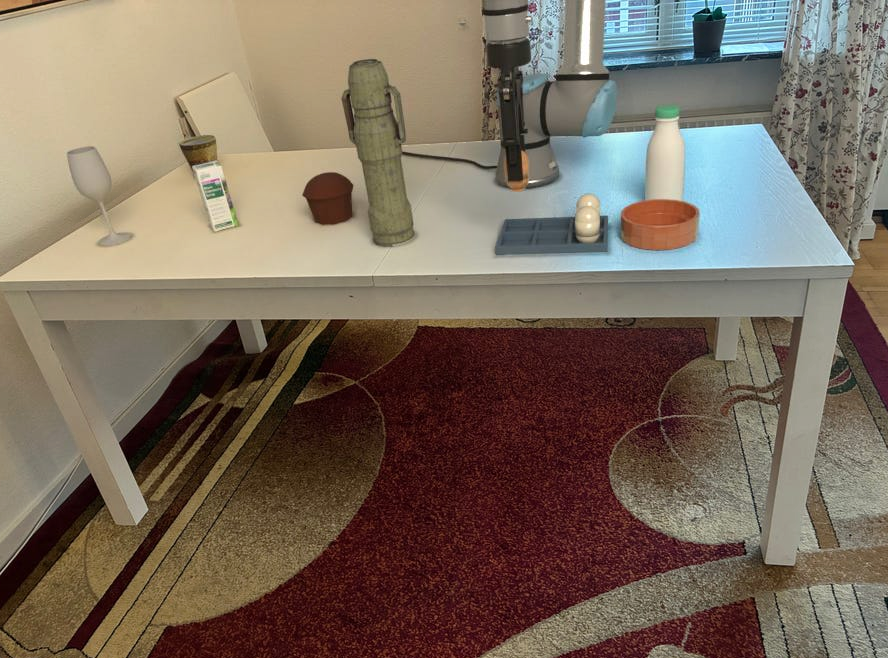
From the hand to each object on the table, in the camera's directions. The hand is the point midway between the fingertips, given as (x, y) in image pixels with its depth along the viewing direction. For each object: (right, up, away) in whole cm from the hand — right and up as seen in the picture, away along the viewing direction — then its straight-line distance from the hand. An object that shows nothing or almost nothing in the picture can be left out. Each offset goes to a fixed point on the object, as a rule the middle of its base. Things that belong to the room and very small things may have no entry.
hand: (517, 175), depth 135 cm
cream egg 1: (+15, -8, +10) cm, 20 cm away
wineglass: (-91, -6, +36) cm, 98 cm away
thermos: (-25, -9, +19) cm, 32 cm away
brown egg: (0, -2, +1) cm, 3 cm away
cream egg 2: (+14, -12, +5) cm, 19 cm away
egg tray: (+8, -11, +9) cm, 16 cm away
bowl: (+27, -11, +5) cm, 30 cm away
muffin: (-40, -2, +33) cm, 52 cm away
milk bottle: (+32, -2, +19) cm, 37 cm away
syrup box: (-66, -3, +36) cm, 75 cm away
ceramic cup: (-84, +19, +75) cm, 115 cm away
